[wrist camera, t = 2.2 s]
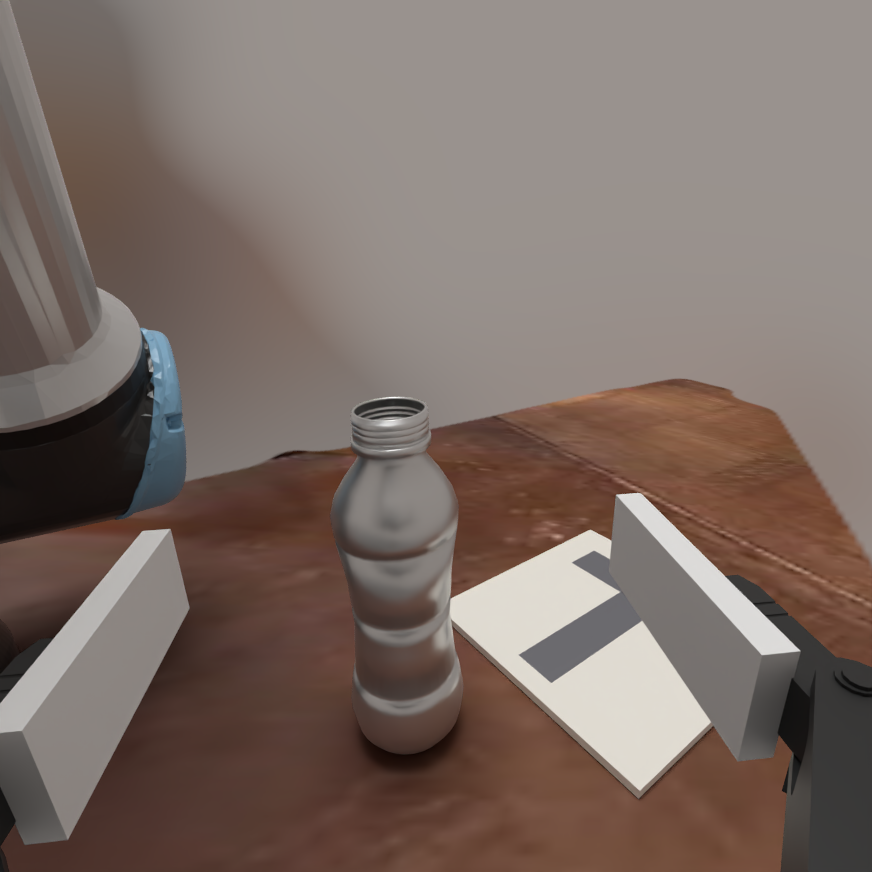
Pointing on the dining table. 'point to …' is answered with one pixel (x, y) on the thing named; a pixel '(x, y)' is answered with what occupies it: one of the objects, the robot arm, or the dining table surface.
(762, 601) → the robot arm
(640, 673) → the letter board
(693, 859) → the dining table surface
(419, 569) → the plastic bottle
